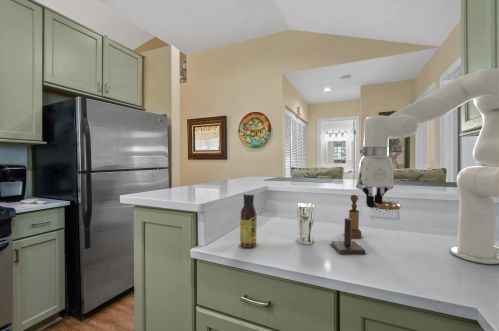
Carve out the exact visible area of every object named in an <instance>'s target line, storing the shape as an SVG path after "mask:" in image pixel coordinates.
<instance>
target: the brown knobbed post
mask: <svg viewBox="0 0 499 331" xmlns="http://www.w3.org/2000/svg"><path fill="white" fill-rule="evenodd" d="M350 200H351V202H352V204H351V209H349V211H348V218H350V219H352V226H351V239H361V238H362V231H361V230H360V228H359V222H360V221H359V220H360V210H357V207H358V205H357V202H358V201H359V196H358V195H357V194H351V195H350Z"/></svg>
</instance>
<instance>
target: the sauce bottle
mask: <svg viewBox="0 0 499 331" xmlns="http://www.w3.org/2000/svg"><path fill="white" fill-rule="evenodd" d="M254 199H255V194H254V193H244V194H243V207H242V208H241V210H240V220H239V222H240V224H239V225H240V227H239V232H240V233H239V242H240V247H242V248H248V249H250V248H254V247H256V245H257V227H258V226H257V223H258V222H257V218H258V217H257V216H258V215H257V212H256V209H255V206H254Z"/></svg>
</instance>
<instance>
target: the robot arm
mask: <svg viewBox="0 0 499 331" xmlns="http://www.w3.org/2000/svg"><path fill="white" fill-rule="evenodd" d="M470 101H473V104H474V106H475V108H476V109H477V110H478V112H479V113H480V115H481V117H482V127H481V129H480V131H479V134H478V137H477V140H476V142H475V144H474V147H473V151H472V158H473V159H474V161H475V162H477V163H480V164H484V165H498V167H496V166H481V165H475V166H474V165H473V166H467V167H465V168H463V169H461V170H460V171H459V172H458V174H457V175H456V186H457V192H458V222H457V240H456V242H457V243H456V246H454V247H452V248H451V250H450V253H452V254H453V255H454V256H456V257H458V258H461V259H463V260H466V261H470V262H474V263H479V264H483V265H484V264H486V265H497V264H499V256H498V255H497V254H499V246H496V245H495V242H496V227H497V226H496V224H497V205H496V202H495V200H494V198H498V199H499V68H496V67H485V68H481V69H478V70H475V71H473V72H470V73H467V74H464V75H461V76H459V77H457V78H455V79H453V80H451V81H450V82H448V83H446V84H445V85H443V86H441V87H440V88H438V89H436V90H434V91H432V92H431V93H429V94H427V95H425V96H424V97H421V98H419V99H418V100H416V101H414V102H412V103H410V104H408V105H406V106H404V107H402V108H400V109H398V110H396V111H394V112H393V113H391V114H390V115H383V114H379V115H378V114H375V115H369V116H366V118H365V119H364V124H363V147H362V149H360V150H359V154H361V155H362V156H361V158H360V160H359V161H360V162H359V167H358V175H357V176H358V177H357V184H356V186H355V188H356V189H358V190H359V191H362V192H363V194H364V195H366V198H365V199H366V200H365V204H366V207H368V208H370V209H375V208H374V203H377V204H382V201H383V197H384V196H385V194H386V193H387V192H388V191H390V190H393V189H394V166H393V161H392V157H390V156H389V148H390V144H389V143H390V140H393V139H404V138H405V139H406V138H408V137H411V136H413V135H415V134H416V133H417V132H418V130H419V127H420V124H423V123H425V122H426V123H427V122H430V121H433V120H436V119H439V118H441V117H444V116H445V115H447V114H449V113H450V112H453V111H454V110H456V109H458V108H459V107H461V106H463V105H465V104H466V103H468V102H470ZM374 188H375V190H376V192H375V194H374V196H373V191H374Z"/></svg>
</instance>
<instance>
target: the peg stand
mask: <svg viewBox="0 0 499 331" xmlns="http://www.w3.org/2000/svg"><path fill="white" fill-rule="evenodd" d="M351 226H352V219H350V218H349V217H345V218H344V228H343V230H344V232H343V234H344V235H343V240H330V245H331V247H332V248H334V249H335V251H337V252H338V254H340V255H365V254H366V249H365V248H363V246H361V245H359V244H358V243H357V242H356V241H354V240H352V238H351Z"/></svg>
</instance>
